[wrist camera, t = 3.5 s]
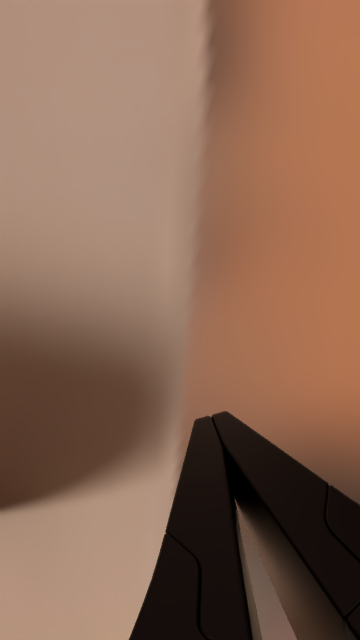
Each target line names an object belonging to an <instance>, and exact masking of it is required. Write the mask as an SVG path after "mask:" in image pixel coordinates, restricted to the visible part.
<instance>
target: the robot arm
mask: <svg viewBox="0 0 360 640" xmlns="http://www.w3.org/2000/svg"><path fill="white" fill-rule="evenodd" d="M235 501H236V502H235ZM236 504H237V506H238V509H239V511H240V513H241V516H242V518H243V520H244V522H245V525H246V527H247V529H248V531H249V534H250V535H251V538H252V540H253V542H254V544H255V547H256V549H257V551H258V553H259V556H260V558H261V560H262V562H263V565H264V567H265V569H266V571H267V573H268V575H269V578H270V580H271V582H272V584H273V586H274V589H275V591H276V593H277V596H278V597H279V600H280V602H281V604H282V607H283V609H284V611H285V613H286V615H287V618H288V620H289V622H290V624H291V627H292V629H293V631H294V633H295V635H296V638H297V640H360V504H358V503H357V502H355V501H354V500H352V499H351V498H349V497H348V496H346V495H345V494H344V493H342V492H341V491H339V490H338V489H337V488H335V487H334V486H332V485H329V483H328V482H326V481H325V480H323V479H322V478H321V477H319V476H318V475H316V474H315V473H314V472H312V471H311V470H309V469H308V468H307V467H305V466H304V465H302V464H301V463H299V462H298V461H297V460H295V459H294V458H292V457H291V456H289V455H288V454H287V453H285V452H284V451H283V450H281V449H280V448H278V447H277V446H276V445H274V444H273V443H271V442H270V441H268V440H267V439H266V438H264V437H263V436H261V435H260V434H259V433H257V432H256V431H254V430H253V429H251V428H250V427H249V426H247V425H246V424H244V423H243V422H241V421H240V420H239V419H237V418H236V417H234V416H233V415H232V414H230V413H229V412H226V411H223V412H220V413H216V414H213V415H212V417H210V416H205V417H202V418H199V419H196V420H195V421H194V425H193V429H192V432H191V436H190V440H189V444H188V447H187V451H186V455H185V459H184V463H183V466H182V470H181V474H180V478H179V482H178V485H177V489H176V493H175V497H174V501H173V504H172V508H171V512H170V516H169V519H168V523H167V527H166V534H165V535H164V538H163V542H162V545H161V549H160V553H159V556H158V560H157V563H156V566H155V570H154V573H153V576H152V580H151V582H150V585H149V588H148V591H147V593H146V596H145V599H144V602H143V604H142V607H141V610H140V612H139V615H138V618H137V620H136V623H135V625H134V628H133V630H132V633H131V636H130V638H129V640H262V636H261V631H260V625H259V621H258V615H257V610H256V604H255V599H254V594H253V589H252V583H251V578H250V573H249V568H248V562H247V557H246V552H245V547H244V541H243V536H242V532H241V526H240V521H239V515H238V511H237V506H236Z"/></svg>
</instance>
